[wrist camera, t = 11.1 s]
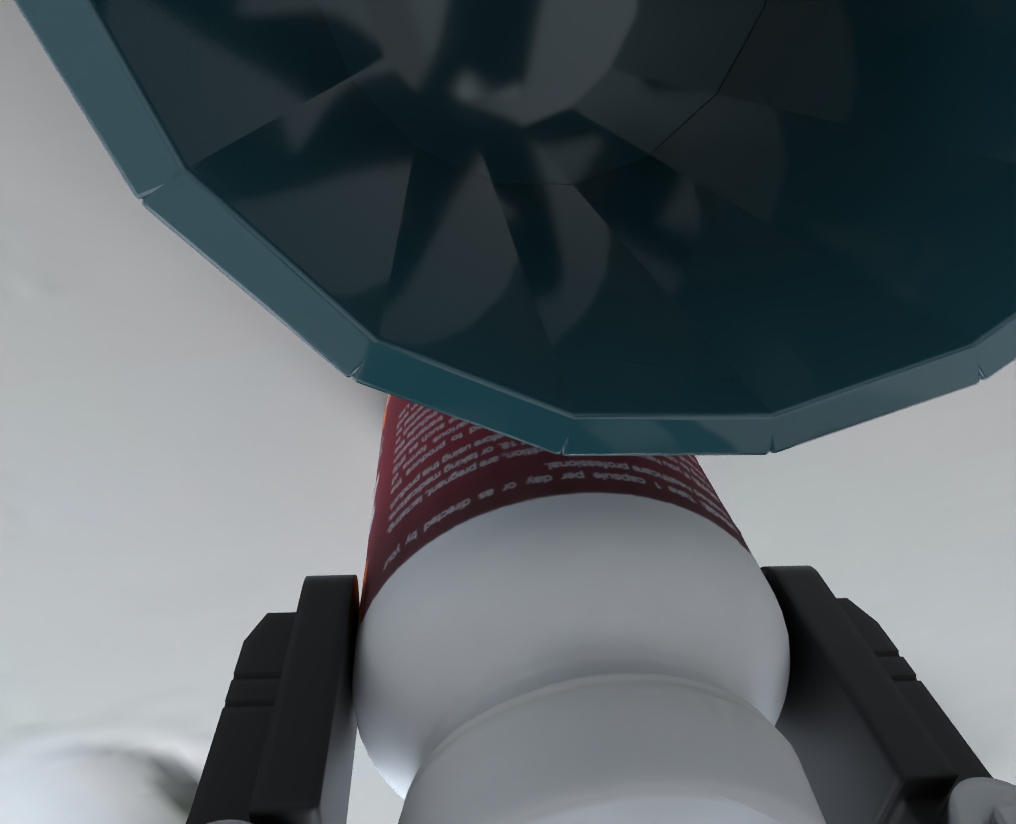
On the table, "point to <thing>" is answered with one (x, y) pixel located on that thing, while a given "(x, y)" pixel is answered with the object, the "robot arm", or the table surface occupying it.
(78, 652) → the table surface
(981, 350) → the teal coffee mug
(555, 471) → the pill bottle
